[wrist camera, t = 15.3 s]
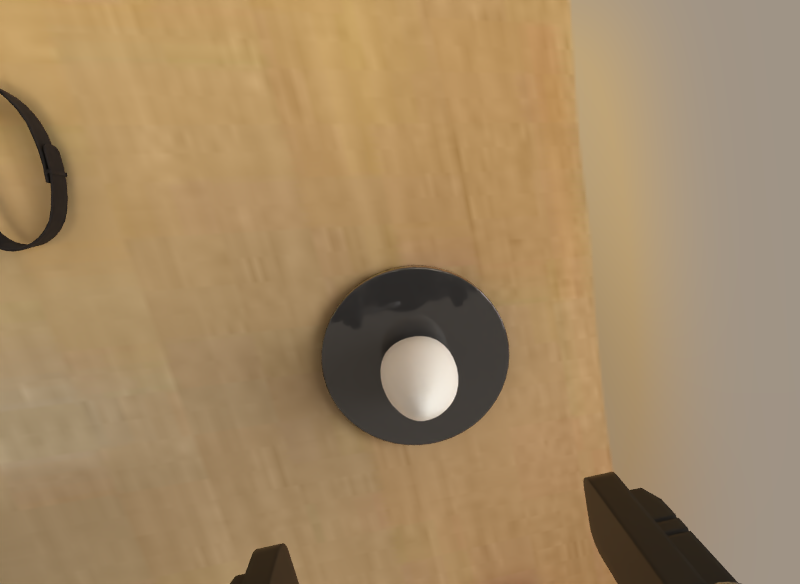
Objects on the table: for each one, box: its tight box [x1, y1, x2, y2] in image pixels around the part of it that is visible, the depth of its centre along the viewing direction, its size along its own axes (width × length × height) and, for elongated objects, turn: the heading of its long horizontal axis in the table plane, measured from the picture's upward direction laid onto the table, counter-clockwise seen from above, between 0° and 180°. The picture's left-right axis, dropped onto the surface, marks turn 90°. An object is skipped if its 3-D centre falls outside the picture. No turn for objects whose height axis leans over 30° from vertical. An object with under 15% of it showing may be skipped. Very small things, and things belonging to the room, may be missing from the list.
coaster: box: [322, 265, 509, 445], centre depth 25 cm, size 10×10×1 cm
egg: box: [380, 336, 458, 421], centre depth 22 cm, size 4×4×6 cm
